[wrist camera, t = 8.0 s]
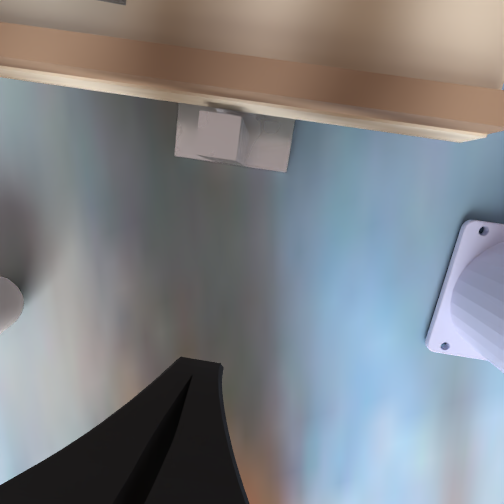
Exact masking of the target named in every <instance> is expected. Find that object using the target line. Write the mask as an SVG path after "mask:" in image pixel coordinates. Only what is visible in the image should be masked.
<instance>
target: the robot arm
mask: <svg viewBox="0 0 504 504" xmlns="http://www.w3.org/2000/svg"><path fill="white" fill-rule="evenodd" d="M481 227H484V231H483V233H481V234H479V229H480V228H481ZM444 342H446V344H445V346H443V347H441V344H442V343H444ZM425 344H426V347H427V348H428V349H429V350H430V351H433V352H437V353H443V354H450V355H456V356H462V357H468V358H475V359H481V360H487V361H489V362H491V363H492V364H493V365H494V366H495V367H497V368H498V369H499V370H500V371H502V372H503V373H504V224H499V223H492V222H485V221H479V220H468V221H466V222H465V223H463V225H462V227H461V229H460V233H459V236H458V239H457V242H456V245H455V248H454V252H453V255H452V258H451V261H450V264H449V267H448V271H447V274H446V277H445V280H444V283H443V286H442V290H441V293H440V296H439V299H438V302H437V305H436V309H435V312H434V315H433V318H432V321H431V324H430V328H429V331H428V334H427V337H426V340H425ZM222 374H223V366H222V365H221V364H220V363H215V362H209V361H203V360H197V359H191V358H185V357H180V358H179V359H177V360H176V361H175V362H174V363H173V364H172V365H171V366H170V367H169V368H168V369H166V370H165V371H164V372H163V373H162V374H161V375H160V376H159V377H158V378H156V379H155V380H154V381H153V382H152V383H151V384H150V385H148V386H147V387H146V388H145V389H144V390H142V391H141V392H140V393H139V394H138V395H137V396H135V397H134V398H133V399H132V400H130V401H129V402H128V403H127V404H125V405H124V406H123V407H121V408H120V409H119V410H117V411H116V412H115V413H114V414H112V415H111V416H110V417H108V418H107V419H106V420H104V421H103V422H102V423H100V424H99V425H97V426H96V427H95V428H93V429H92V430H90V431H89V432H87V433H86V434H84V435H83V436H81V437H80V438H79V439H77V440H75V441H74V442H72V443H71V444H69V445H68V446H66V447H65V448H63V449H62V450H60V451H58V452H57V453H55V454H54V455H52V456H50V457H49V458H47V459H45V460H43V461H42V462H40V463H38V464H37V465H35V466H33V467H31V468H30V469H28V470H26V471H24V472H23V473H21V474H19V475H17V476H16V477H14V478H12V479H10V480H9V481H7V482H5V483H3V484H1V485H0V504H249V501H248V498H247V495H246V492H245V489H244V487H243V483H242V480H241V477H240V474H239V471H238V467H237V464H236V460H235V457H234V453H233V449H232V445H231V441H230V436H229V432H228V427H227V422H226V416H225V410H224V404H223V395H222Z"/></svg>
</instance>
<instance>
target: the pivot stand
mask: <svg viewBox="0 0 504 504" xmlns="http://www.w3.org/2000/svg"><path fill="white" fill-rule="evenodd" d="M294 123H295V119H291V118H284V117H277V116H270V115H263V114H256V113H249V112H242V111H234V110H227V109H220V108H213V107H206V106H199V105H192V104H185V103H179V106H178V119H177V132H176V144H175V156H177V157H183V158H190V159H196V160H203V161H210V162H217V163H223V164H230V165H237V166H244V167H250V168H257V169H264V170H270V171H277V172H284V173H286V171H287V165H288V159H289V153H290V147H291V141H292V135H293V129H294Z"/></svg>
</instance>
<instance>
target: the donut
mask: <svg viewBox="0 0 504 504" xmlns="http://www.w3.org/2000/svg"><path fill="white" fill-rule="evenodd" d="M23 306H24V301H23V295H22V293H21V292H20V290H19V288H18V287H17V286H16V285H15V284H14V283H13V282H11V281H10V280H9V279H7V278H4V277H2V276H0V334H1V333H2V332H4V331H5V330H6V329H7V328H9V327H10V326H11V325H12V324H13V323H15V322H16V321H17V319H18V318H19V316H20V315H21V313H22V310H23Z"/></svg>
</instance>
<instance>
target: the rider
mask: <svg viewBox="0 0 504 504" xmlns="http://www.w3.org/2000/svg"><path fill="white" fill-rule="evenodd" d="M98 1H104V2H109V3H115V4H120V5H126V0H98Z"/></svg>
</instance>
